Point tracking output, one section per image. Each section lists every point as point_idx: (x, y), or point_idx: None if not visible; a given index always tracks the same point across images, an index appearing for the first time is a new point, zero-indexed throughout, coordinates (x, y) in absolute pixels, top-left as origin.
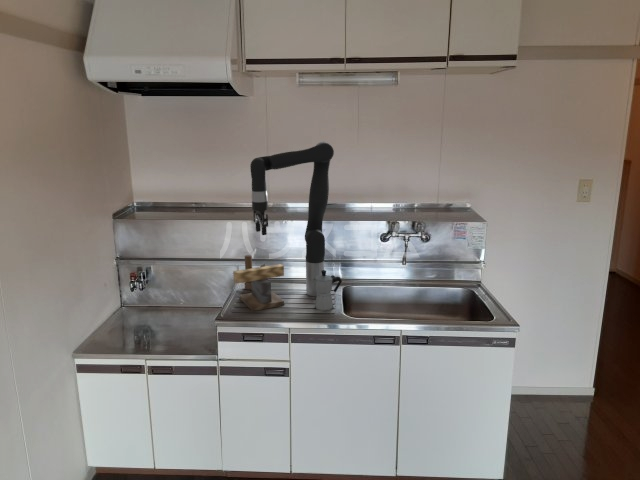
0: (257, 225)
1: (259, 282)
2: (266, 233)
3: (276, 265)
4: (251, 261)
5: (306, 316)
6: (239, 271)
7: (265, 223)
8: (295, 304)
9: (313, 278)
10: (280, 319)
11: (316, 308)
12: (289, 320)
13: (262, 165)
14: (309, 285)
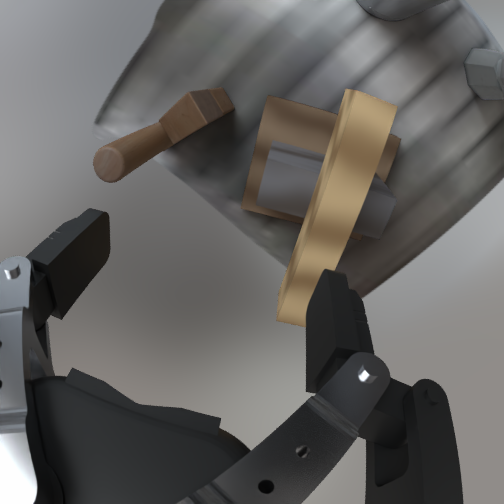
0: (66, 292)
1: (366, 235)
2: (346, 280)
3: (360, 128)
4: (135, 146)
5: (491, 157)
6: (298, 308)
7: (360, 421)
8: (418, 107)
9: (435, 5)
10: (454, 215)
11: (483, 99)
12: (474, 204)
13: None
14: (406, 14)
